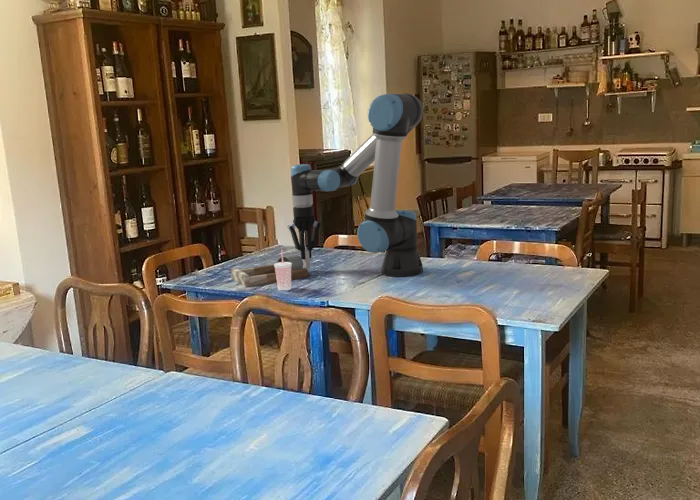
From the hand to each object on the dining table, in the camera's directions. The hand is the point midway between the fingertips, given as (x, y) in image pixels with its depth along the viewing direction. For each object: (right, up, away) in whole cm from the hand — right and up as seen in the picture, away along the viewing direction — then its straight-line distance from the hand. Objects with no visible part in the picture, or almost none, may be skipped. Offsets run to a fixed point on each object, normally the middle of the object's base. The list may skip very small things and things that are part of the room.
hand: (306, 267), depth 273 cm
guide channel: (-13, -4, -6) cm, 15 cm away
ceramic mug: (-7, -3, -3) cm, 8 cm away
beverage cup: (-6, -7, -25) cm, 27 cm away
